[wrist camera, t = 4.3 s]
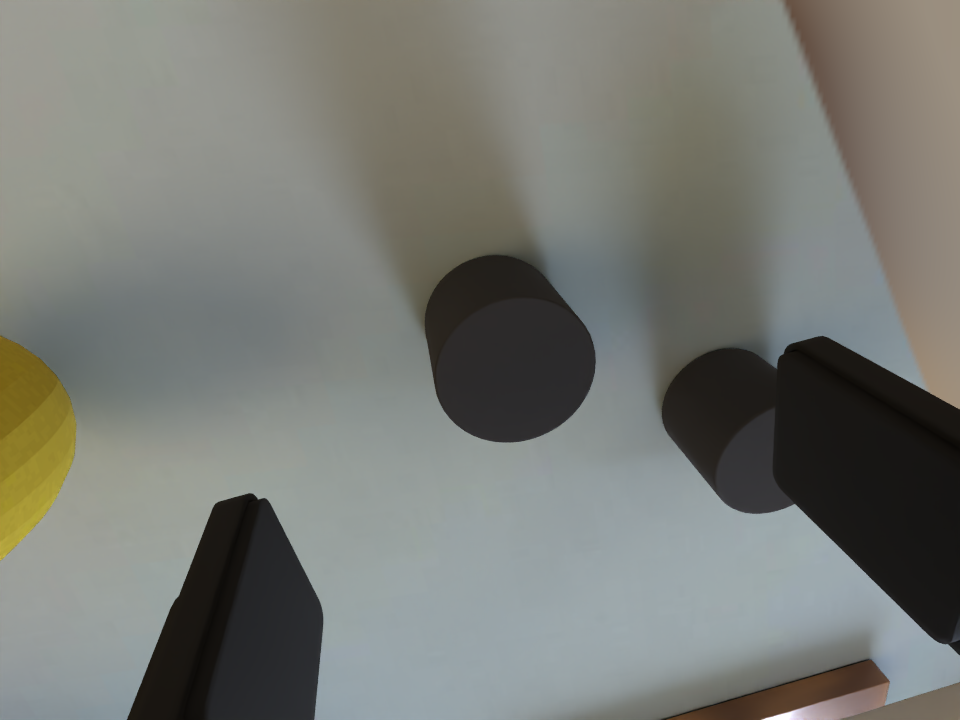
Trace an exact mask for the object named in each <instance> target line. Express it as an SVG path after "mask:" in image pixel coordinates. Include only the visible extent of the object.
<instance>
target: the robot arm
mask: <svg viewBox="0 0 960 720" xmlns="http://www.w3.org/2000/svg"><path fill="white" fill-rule="evenodd" d="M772 470H773V476H774V479H775V481H776V483H777V485H778V487H779V488H780V489H781V490H782V491H783V492H784V493H785V494H786V495H787V496H788V497H789V498H790V499H791V500H792V501H793V502H794V503H795V504H796V505H797V506H798V507H799V508H800V509H801V510H802V511H803V512H804V513H805V514H806V515H807V516H808V517H809V518H810V519H811V520H812V521H813V522H814V523H815V524H816V525H817V526H818V527H819V528H820V529H821V530H822V531H823V532H824V533H825V534H826V535H827V536H828V537H829V538H830V539H832V540H833V541H834V542H835V543H836V544H837V545H838V546H839V547H840V548H841V549H842V550H843V551H844V552H845V553H846V554H847V555H848V556H849V557H850V558H851V559H852V560H853V561H854V562H855V563H856V564H857V565H858V566H859V567H860V568H861V569H862V570H863V571H864V572H865V573H866V574H867V575H868V576H869V577H870V578H871V579H872V580H873V581H874V582H875V583H876V584H877V585H878V586H879V587H880V588H881V589H882V590H883V591H884V592H885V593H886V594H887V595H888V596H889V597H891V598H892V599H893V600H894V601H895V602H896V603H897V604H898V605H899V606H900V607H901V608H902V609H903V610H904V611H905V612H906V613H907V614H908V615H909V616H910V617H911V618H912V619H913V620H914V621H915V622H916V623H917V624H918V625H919V626H920V627H921V628H922V629H923V630H924V631H925V632H926V633H927V634H928V635H929V636H931V637H932V638H933V639H934V640H936V641H937V642H939V643H942V644H948V645H949V646H950V647H952V648H953V649H954V650H955V651H956V652H957V653H958V654H959V655H960V409H958V408H956V407H954V406H952V405H950V404H948V403H946V402H945V401H943V400H941V399H939V398H938V397H936V396H934V395H932V394H930V393H929V392H927V391H925V390H923V389H921V388H919V387H918V386H916V385H914V384H912V383H910V382H908V381H907V380H905V379H903V378H901V377H899V376H897V375H896V374H894V373H892V372H890V371H888V370H886V369H885V368H883V367H881V366H879V365H877V364H875V363H874V362H872V361H870V360H868V359H866V358H864V357H863V356H861V355H859V354H857V353H855V352H853V351H852V350H850V349H848V348H846V347H844V346H842V345H841V344H839V343H837V342H835V341H833V340H831V339H830V338H827V337H824V336H818V337H814V338H811V339H807V340H803V341H800V342H796V343H793V344H790V345H789V346H787V348H786V349H785V352H784V354H783V355H781V356H780V357H779V359H778V364H777V384H776V405H775V425H774V446H773V467H772ZM322 632H323V612H322V607H321V604H320V601H319V599H318V597H317V595H316V593H315V591H314V589H313V587H312V585H311V583H310V581H309V579H308V577H307V575H306V573H305V571H304V569H303V567H302V566H301V564H300V562H299V560H298V558H297V556H296V554H295V552H294V550H293V548H292V546H291V544H290V542H289V540H288V538H287V536H286V534H285V532H284V530H283V528H282V526H281V524H280V522H279V520H278V518H277V516H276V514H275V512H274V510H273V508H272V506H271V504H270V503H269V501H268V500H267V499H265V498H263V499H259V500H258V499H257V497H256V496H255V495H254V494H251V493H249V494H245V495H242V496H238V497H234V498H231V499H227V500H224V501H220V502H218V503H216V504H215V505H214V507H213V509H212V512H211V514H210V517H209V519H208V522H207V525H206V527H205V530H204V532H203V535H202V538H201V540H200V543H199V545H198V548H197V551H196V553H195V556H194V558H193V561H192V564H191V566H190V569H189V571H188V574H187V577H186V579H185V582H184V584H183V587H182V590H181V592H180V595H179V597H178V598H177V599H176V600H175V601H174V603H173V605H172V607H171V609H170V611H169V614H168V616H167V619H166V622H165V624H164V627H163V629H162V632H161V634H160V637H159V639H158V642H157V644H156V647H155V650H154V652H153V655H152V657H151V660H150V662H149V665H148V667H147V670H146V673H145V675H144V678H143V680H142V683H141V685H140V688H139V690H138V693H137V696H136V698H135V701H134V703H133V706H132V708H131V711H130V713H129V716H128V719H127V720H314V716H315V705H316V695H317V684H318V674H319V663H320V653H321V642H322ZM841 720H960V682H959V683H956V684H953V685H949V686H946V687H943V688H940V689H937V690H933V691H930V692H927V693H924V694H921V695H918V696H914V697H911V698H908V699H905V700H902V701H898V702H895V703H892V704H889V705H886V706H882V707H879V708H876V709H873V710H870V711H866V712H863V713H860V714H857V715H854V716H851V717H847V718H844V719H841Z"/></svg>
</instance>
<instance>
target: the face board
mask: <svg viewBox="0 0 960 720" xmlns="http://www.w3.org/2000/svg"><path fill="white" fill-rule="evenodd" d="M889 684H890V681H889V680H888V679H887V677H886V676H885V675H884V674H883V673H882V672H881V670H880V669H879V668H878V667H877V666H876V664H875V663H874V662H873V661H872V660H867V661H864V662H860V663H857V664H854V665H850V666H847V667H843V668H840V669H837V670H833V671H830V672H826V673H823V674H819V675H816V676H813V677H809V678H806V679H802V680H799V681H796V682H792V683H789V684H785V685H782V686H778V687H775V688H772V689H768V690H765V691H761V692H758V693H754V694H751V695H748V696H744V697H741V698H737V699H734V700H731V701H727V702H724V703H720V704H717V705H713V706H710V707H707V708H703V709H700V710H696V711H693V712H690V713H686V714H683V715H679V716H676V717H672V718H669V719H666V720H841V719H844V718H847V717H851V716H854V715H857V714H860V713H863V712H866V711H870V710H873V709H876V708H879V707H882V706H885V701H886V697H887V692H888V688H889Z"/></svg>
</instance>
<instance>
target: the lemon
mask: <svg viewBox="0 0 960 720" xmlns="http://www.w3.org/2000/svg"><path fill="white" fill-rule="evenodd" d="M75 440H76V420H75V416H74V412H73V409H72V405H71V401H70V397H69V396H68V394H67V392H66V391H65V389H64V387H63V386H62V384H61V382H60V381H59V379H58V377H57V376H56V375H55V374H54V373H53V372H52V371H51V370H50V369H49V367H48V366H47V365H46V364H45V363H44V362H43V361H42V360H41V359H40V358H38V357H37V356H35V355H34V354H32V353H31V352H30V351H28V350H27V349H25V348H24V347H22V346H21V345H19V344H17V343H15V342H13V341H10V340H8V339H6V338H4V337H2V336H0V560H2V559H3V558H4V557H5V556H6V555H7V554H8V553H9V552H10V551H11V550H12V549H13V548H14V547H15V546H16V545H17V544H18V543H19V542H20V541H21V540H22V539H23V538H24V537H25V536H26V535H27V534H28V533H29V532H30V531H31V530H32V529H33V528H34V527H35V526H36V524H37V523H38V522H39V521H40V520H41V519H42V518H43V516H44V515H45V514H46V512H47V511H48V510H49V508H50V507H51V505H52V504H53V502H54V500H55V499H56V497H57V495H58V493H59V491H60V489H61V486H62V484H63V482H64V480H65V478H66V476H67V473H68V471H69V469H70V467H71V465H72V461H73V458H74V454H75Z"/></svg>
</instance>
